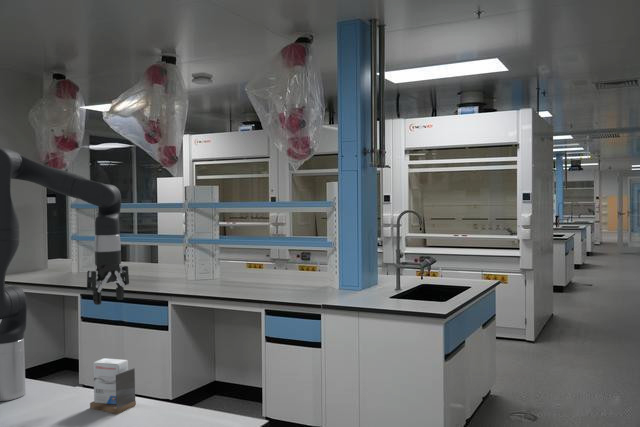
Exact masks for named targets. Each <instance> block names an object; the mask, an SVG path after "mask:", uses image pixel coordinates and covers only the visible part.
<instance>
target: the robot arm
mask: <svg viewBox="0 0 640 427" xmlns="http://www.w3.org/2000/svg"><path fill="white" fill-rule="evenodd" d="M11 179H12V180H20V181H26V182H31V183H34V184H36V185H39V186H41V187H44V188H46V189H49V190H50V191H53V192H55V193H58V194H61V195H64V196H67V197H71V198H74V199H78V200H81V201H83V202H85V203H88V204H91V205H93V206H96V207H98V208H97V209H98V210H97V212H98V213H97V216H96V218H95V221H94V234H95V235H94V265H95V266H96V269H95V270H88V271H87V272H86V274H87V275H86V291H89V292H92V301H93V303H94V305H96V306H98V305H102V292H101V291H102V289H103V287H105V286H106V284H109V283H114V284H115V286H116V288H115V296H116V297H115V298H116V300H118V301H119V300H120V301H121V300H124V296H125V291H124V290H125V289H124V288H125V286H128V285H129V284H130V275H129V267H128V266H127V265H121V264H122V252H121V250H122V249H121V248H122V245H121V243H122V242H121V237H120V234H121V233H120V230H121V229H120V215H121V209H122V208H121V206H122V194H121V191H120V189H119V188H118V187H117V186H116V185H113V184H106V183H103V182H98V181H94V180H92V179H88V177H85V176H83V175H79V174H77V173H72V172H70V171H66V170H63V169H59V168H55V167H52V166H49V165H45V164H42V163H40V162H37V161H35V160H33V159H30V158H28V157H26V156H25V155H23V154H21V153H19V152H17V151H15V150H13V149H11V148H4V147H0V402H4V401H5V402H7V401H11V400H16V399H19V398H21V397H23V396H24V395H26V364H25V361H26V360H25V359H26V358H25V357H26V356H25V332H26V329H27V318H28V315H27V314H28V312H27V311H28V303H27V302H28V301H27V296H26V294H25V292H24V289H22V288H21V287H19V286H16V285H10V286H6V287H5V285H6V281H5V280H6V275H7V272H8V268H9V267H10V264H11V262H12V261H13V259H14V257H15V255H16V252H17V251H18V249H19V245H20V222H19V217H18V214H17V211H16V209H15V205H14V203H13V199H12V194H11Z"/></svg>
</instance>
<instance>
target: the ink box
mask: <svg viewBox="0 0 640 427" xmlns="http://www.w3.org/2000/svg"><path fill="white" fill-rule="evenodd" d="M92 365H93V366H92V367H93V368H92V369H93V396H94V398H93V400H94V402H95V403H104V404H115V405H116V374H119V373H122V372H124V371H127V370H129V360H128V359H121V358H120V359H117V358H106V357H105V358H101V359H98V360H96V361H94V362H93V364H92Z"/></svg>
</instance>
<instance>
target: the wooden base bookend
mask: <svg viewBox="0 0 640 427" xmlns="http://www.w3.org/2000/svg"><path fill="white" fill-rule="evenodd" d="M135 375H136V372H135V367H132V368H129V369H128V370H127V371H124V372H122V373H119V374H116V405H115V404H104V403H95V402H94V401H91V402H89V408H90V409H91V410H97V411H102V412H106V413H110V414H114V415H118V414H121V413H123V412H125V411H127V410H130V409H131V408H134V407H136V406H137V400H136V377H135ZM135 405H136V406H135Z"/></svg>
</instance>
